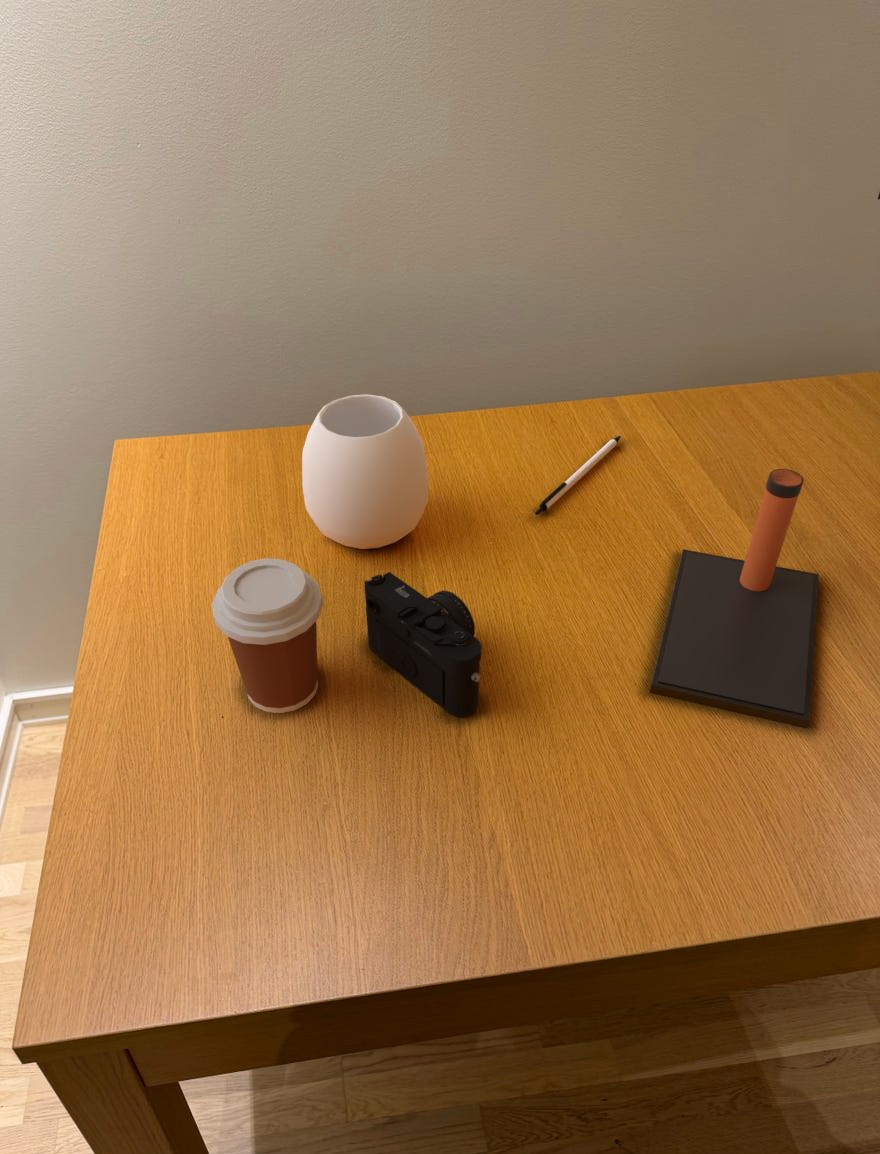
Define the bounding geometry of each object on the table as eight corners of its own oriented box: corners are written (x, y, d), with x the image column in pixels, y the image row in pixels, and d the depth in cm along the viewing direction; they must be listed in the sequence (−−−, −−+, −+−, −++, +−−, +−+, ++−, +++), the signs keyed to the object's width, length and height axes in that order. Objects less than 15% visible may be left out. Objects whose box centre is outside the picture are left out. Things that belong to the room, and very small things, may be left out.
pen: (532, 515, 100) (533, 506, 99) (616, 438, 110) (617, 429, 110) (540, 518, 99) (540, 509, 98) (623, 440, 110) (624, 432, 109)
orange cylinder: (776, 585, 88) (811, 480, 80) (754, 596, 87) (787, 490, 79) (754, 569, 90) (785, 465, 82) (732, 579, 89) (761, 474, 81)
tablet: (681, 556, 94) (683, 548, 93) (816, 581, 90) (819, 573, 90) (649, 692, 80) (651, 683, 80) (806, 728, 77) (810, 719, 76)
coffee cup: (348, 663, 84) (337, 560, 76) (308, 735, 78) (291, 632, 70) (259, 642, 87) (239, 540, 78) (213, 710, 81) (186, 608, 72)
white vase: (284, 521, 101) (268, 411, 91) (381, 477, 106) (375, 369, 97) (354, 581, 93) (344, 467, 84) (454, 530, 98) (455, 418, 89)
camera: (520, 688, 81) (525, 621, 76) (461, 730, 78) (462, 663, 72) (412, 610, 89) (410, 544, 84) (355, 645, 86) (349, 579, 80)
